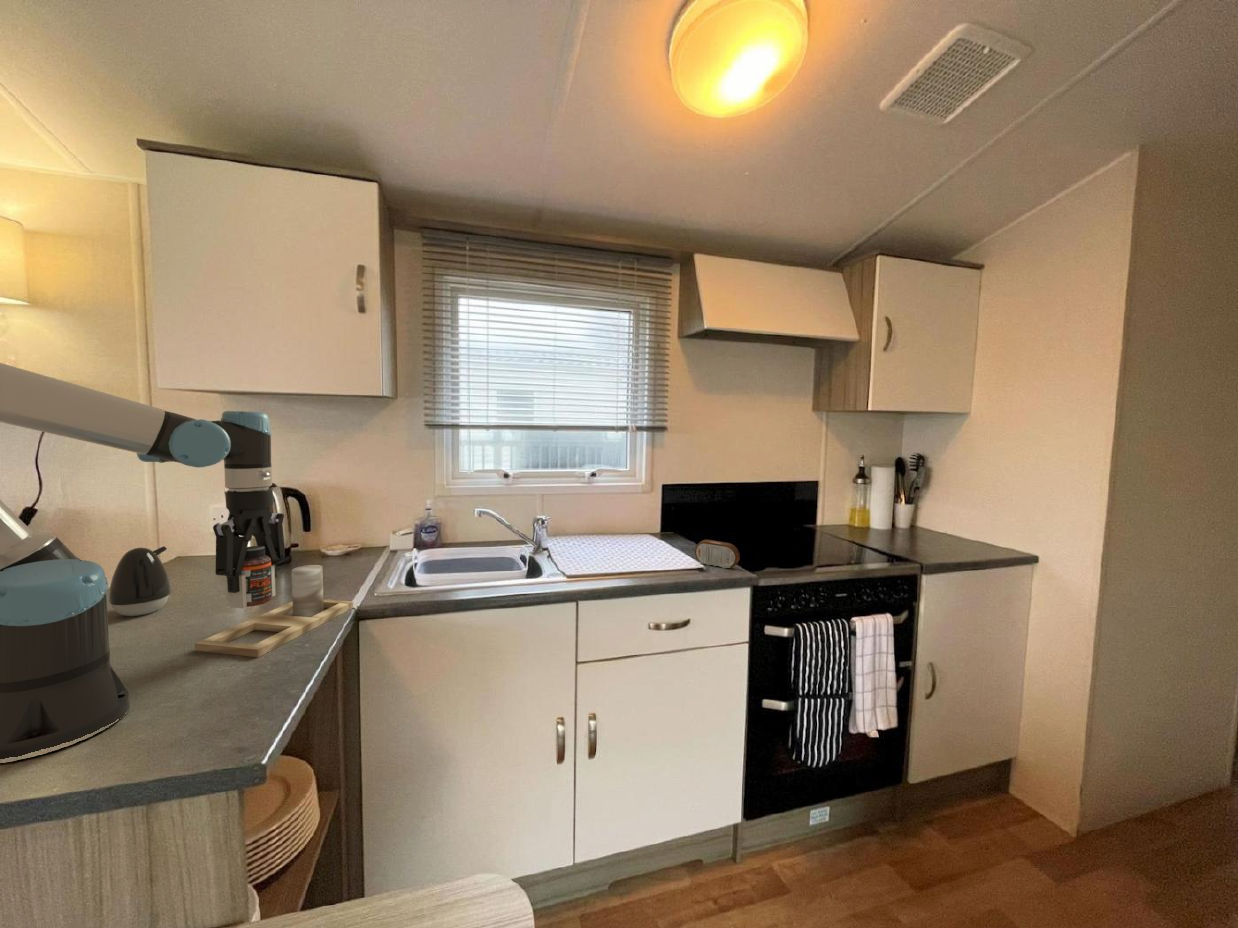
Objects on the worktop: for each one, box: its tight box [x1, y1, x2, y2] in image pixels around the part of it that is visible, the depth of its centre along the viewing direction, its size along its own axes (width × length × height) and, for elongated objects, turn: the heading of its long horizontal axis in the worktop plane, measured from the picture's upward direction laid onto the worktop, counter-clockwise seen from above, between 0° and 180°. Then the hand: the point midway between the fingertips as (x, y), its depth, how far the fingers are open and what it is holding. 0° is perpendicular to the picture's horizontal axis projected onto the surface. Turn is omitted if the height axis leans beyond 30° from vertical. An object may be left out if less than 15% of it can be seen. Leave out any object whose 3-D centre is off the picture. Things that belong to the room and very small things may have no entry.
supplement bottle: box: [241, 545, 273, 608], centre depth 97 cm, size 6×6×11 cm
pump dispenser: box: [108, 546, 172, 617], centre depth 111 cm, size 10×10×15 cm
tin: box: [694, 539, 741, 568], centre depth 160 cm, size 15×3×8 cm, turn 58°
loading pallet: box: [194, 564, 354, 658], centre depth 104 cm, size 26×14×11 cm, turn 172°
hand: (254, 600), depth 97 cm, fingers closed on supplement bottle, 6 cm apart
